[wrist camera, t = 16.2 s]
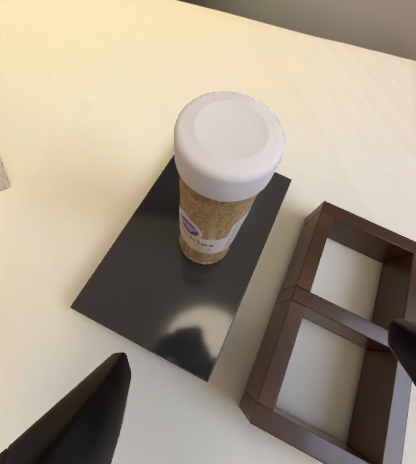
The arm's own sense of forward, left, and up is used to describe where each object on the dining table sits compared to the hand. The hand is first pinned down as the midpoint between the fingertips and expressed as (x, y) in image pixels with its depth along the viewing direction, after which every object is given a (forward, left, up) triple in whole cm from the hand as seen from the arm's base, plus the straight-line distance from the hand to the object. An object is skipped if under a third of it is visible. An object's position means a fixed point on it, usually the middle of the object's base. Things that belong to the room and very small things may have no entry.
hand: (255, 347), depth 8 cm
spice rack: (+10, -1, -13) cm, 16 cm away
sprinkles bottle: (+1, +8, -12) cm, 14 cm away
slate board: (0, +9, -13) cm, 16 cm away
